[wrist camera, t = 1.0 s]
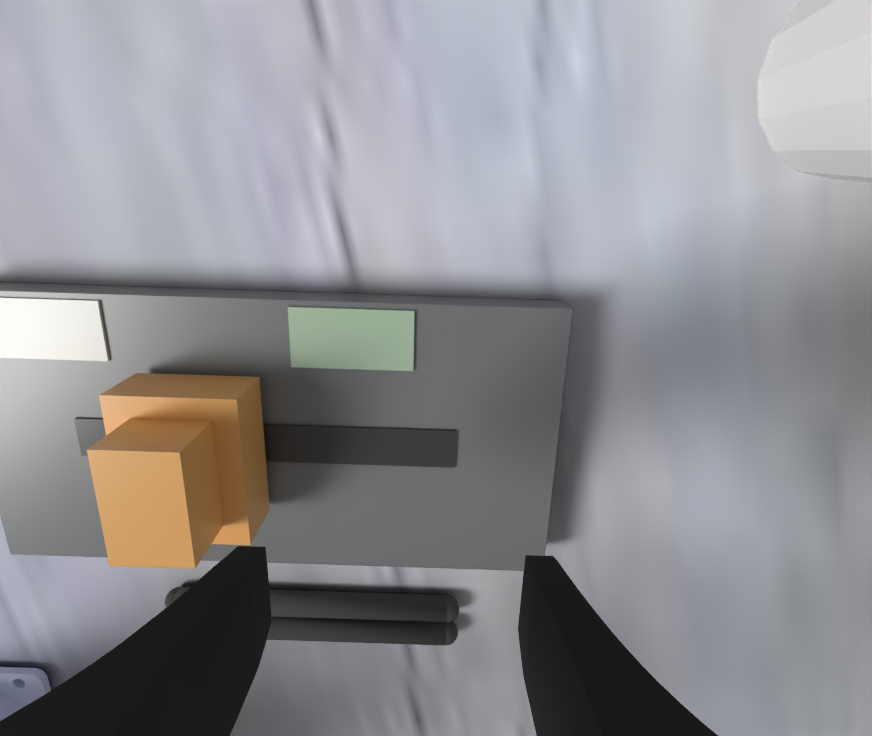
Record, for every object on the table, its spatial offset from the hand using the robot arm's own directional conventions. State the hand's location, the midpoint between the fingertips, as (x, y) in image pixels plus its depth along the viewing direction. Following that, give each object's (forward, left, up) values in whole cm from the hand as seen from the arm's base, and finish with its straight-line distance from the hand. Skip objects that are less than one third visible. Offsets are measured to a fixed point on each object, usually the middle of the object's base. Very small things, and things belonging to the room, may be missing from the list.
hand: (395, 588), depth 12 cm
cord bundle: (-4, -9, -8) cm, 13 cm away
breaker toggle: (-7, 0, -7) cm, 10 cm away
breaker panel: (-5, 0, -8) cm, 10 cm away
